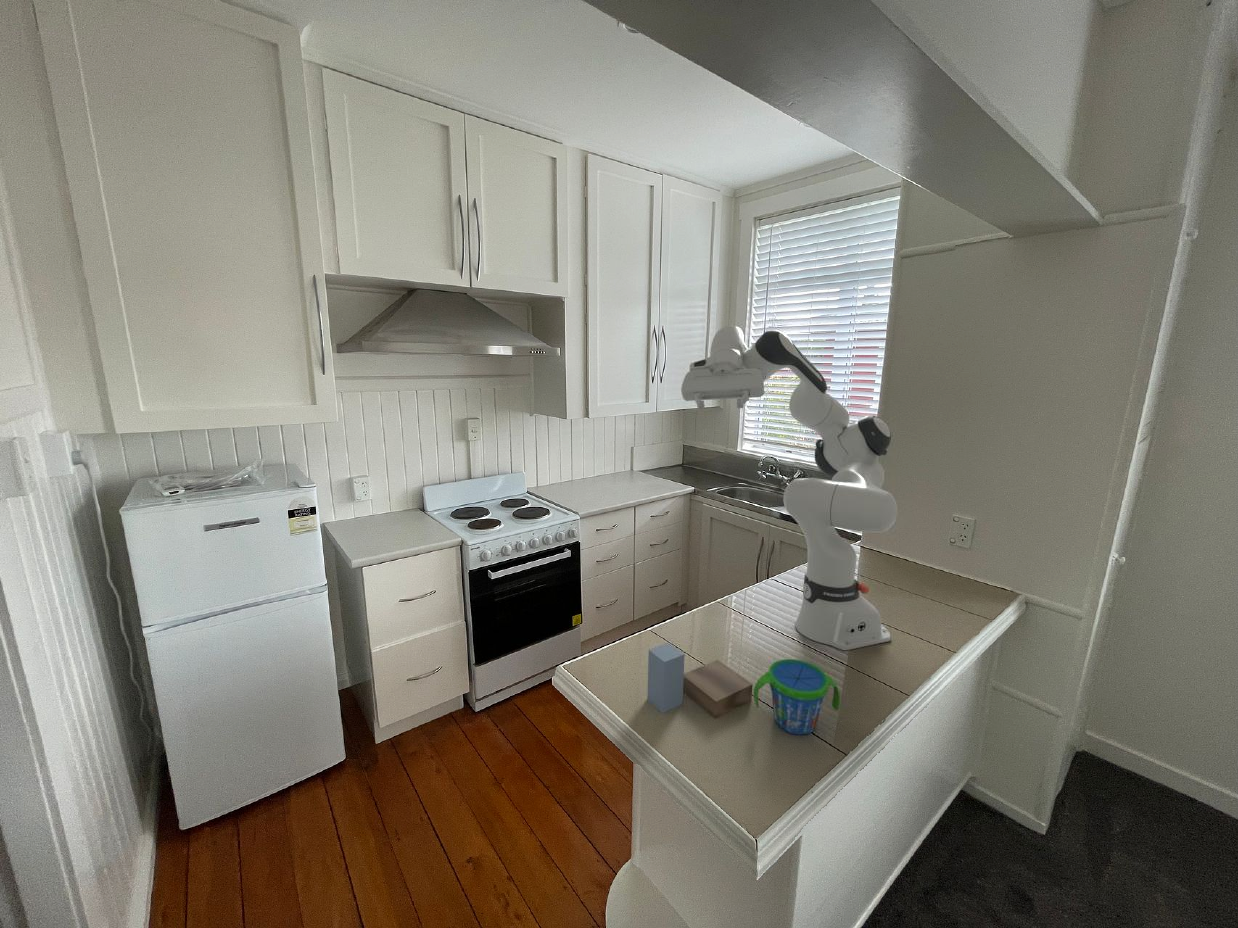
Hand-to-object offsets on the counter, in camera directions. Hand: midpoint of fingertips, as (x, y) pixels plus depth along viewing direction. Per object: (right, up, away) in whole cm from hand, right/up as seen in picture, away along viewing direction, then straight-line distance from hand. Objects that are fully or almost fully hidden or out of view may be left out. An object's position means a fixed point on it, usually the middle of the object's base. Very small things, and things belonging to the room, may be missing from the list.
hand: (720, 407), depth 122 cm
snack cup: (+9, -63, -26) cm, 69 cm away
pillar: (-15, -61, -20) cm, 66 cm away
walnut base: (-5, -61, -18) cm, 64 cm away
